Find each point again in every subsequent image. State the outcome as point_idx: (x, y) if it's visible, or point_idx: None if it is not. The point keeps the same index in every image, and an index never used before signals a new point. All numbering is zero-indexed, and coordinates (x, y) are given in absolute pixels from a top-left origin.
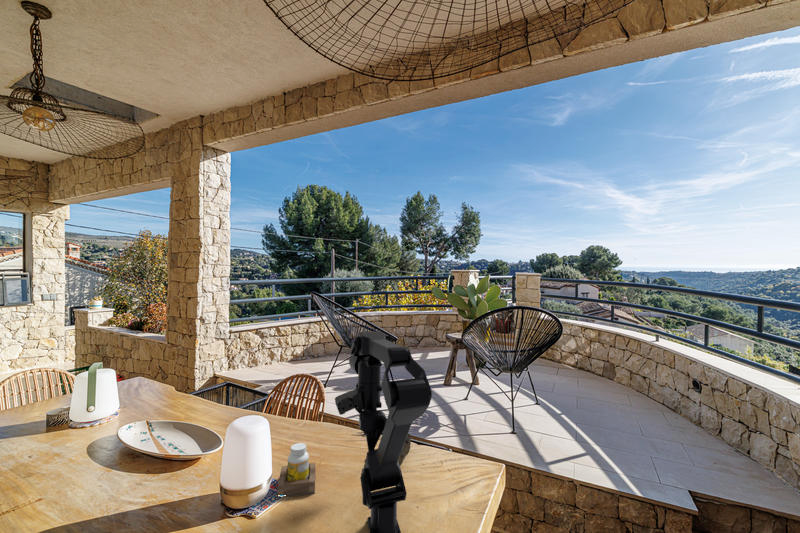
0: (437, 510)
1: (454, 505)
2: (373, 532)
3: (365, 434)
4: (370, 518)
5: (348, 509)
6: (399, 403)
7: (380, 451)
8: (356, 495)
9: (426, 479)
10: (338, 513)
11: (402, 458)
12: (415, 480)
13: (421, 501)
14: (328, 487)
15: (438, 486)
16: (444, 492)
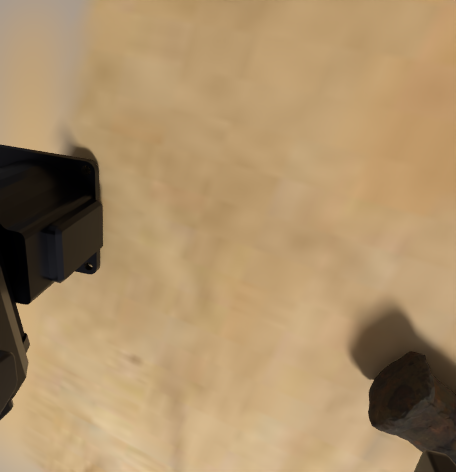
0: (102, 402)
1: (114, 453)
2: (4, 161)
3: (420, 467)
4: (88, 175)
5: (190, 93)
6: None
7: None
8: (288, 160)
9: (285, 460)
10: (174, 34)
11: None
12: (296, 427)
13: (160, 384)
14: (441, 7)
15: (226, 469)
16: (186, 465)
